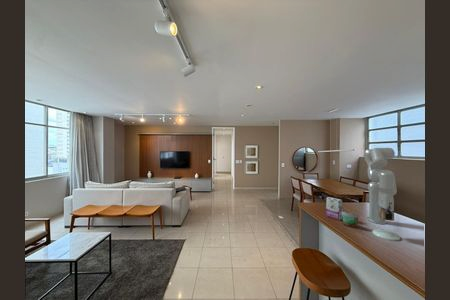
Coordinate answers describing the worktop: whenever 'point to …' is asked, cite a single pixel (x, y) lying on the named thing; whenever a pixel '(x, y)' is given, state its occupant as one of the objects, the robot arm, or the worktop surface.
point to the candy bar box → (334, 208)
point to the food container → (350, 219)
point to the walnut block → (384, 214)
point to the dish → (386, 235)
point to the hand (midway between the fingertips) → (386, 217)
